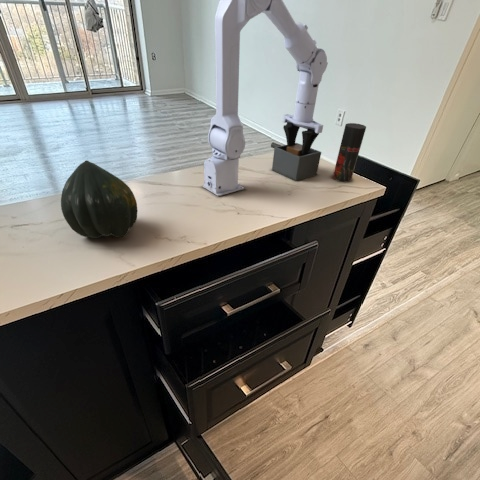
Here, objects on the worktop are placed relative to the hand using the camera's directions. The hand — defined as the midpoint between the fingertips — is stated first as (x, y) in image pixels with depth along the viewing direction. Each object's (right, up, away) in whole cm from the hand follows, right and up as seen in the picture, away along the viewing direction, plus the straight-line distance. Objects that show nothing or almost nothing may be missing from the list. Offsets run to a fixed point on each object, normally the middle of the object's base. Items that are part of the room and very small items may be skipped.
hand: (297, 153), depth 101 cm
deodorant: (+15, -7, +3) cm, 17 cm away
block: (0, -2, +2) cm, 3 cm away
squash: (-49, -33, -28) cm, 65 cm away
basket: (-2, -3, +6) cm, 7 cm away
